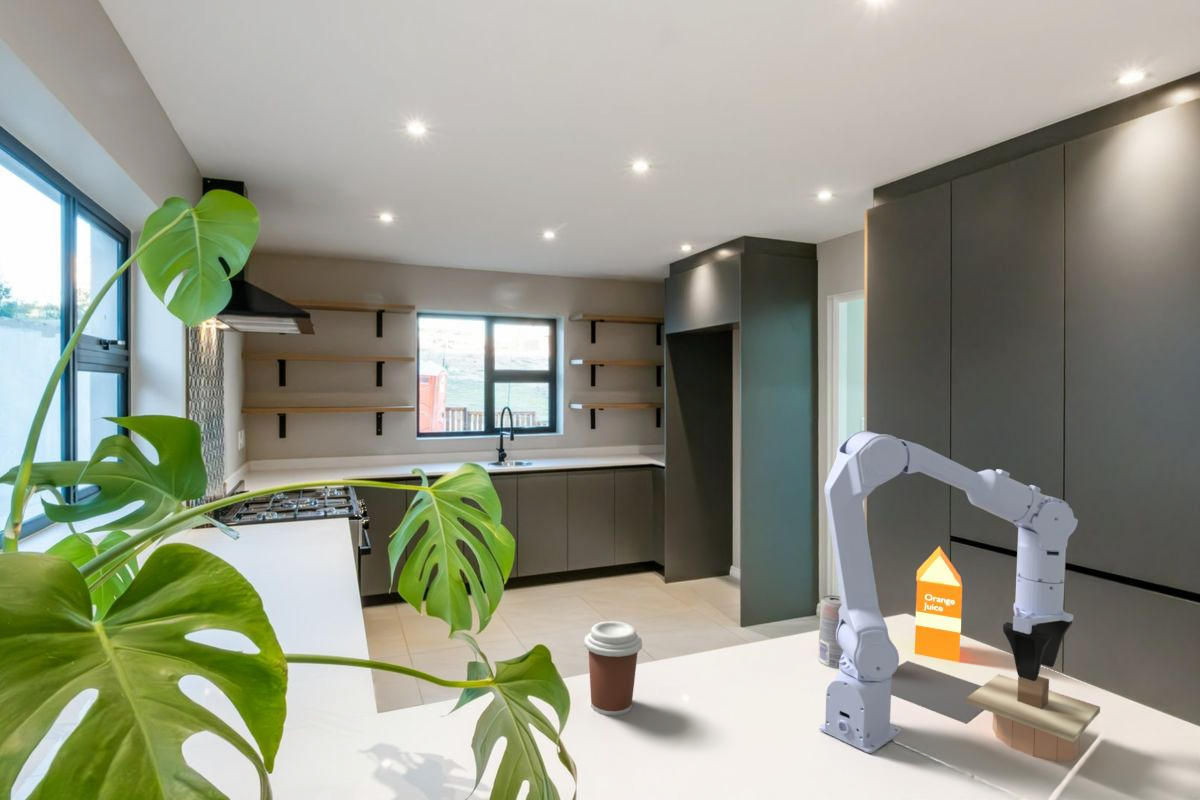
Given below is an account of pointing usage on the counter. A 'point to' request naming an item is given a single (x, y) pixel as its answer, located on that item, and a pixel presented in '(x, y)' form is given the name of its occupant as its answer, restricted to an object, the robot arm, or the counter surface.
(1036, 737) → the bowl
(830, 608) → the energy drink
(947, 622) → the orange juice
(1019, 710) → the lid
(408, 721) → the counter surface
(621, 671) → the coffee cup
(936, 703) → the mat
